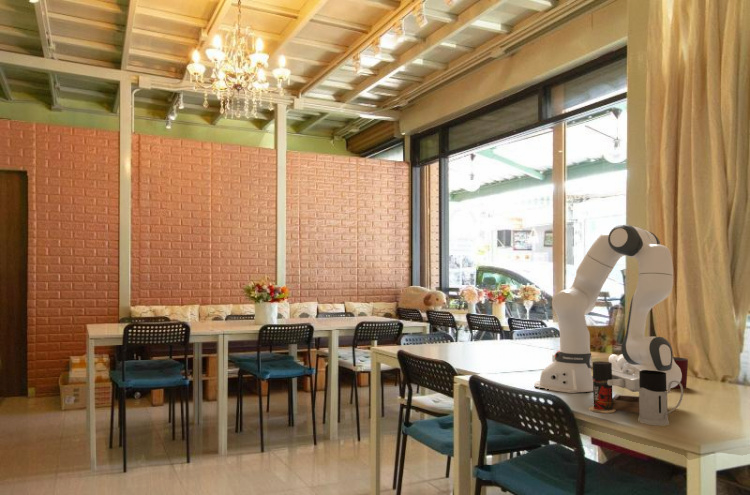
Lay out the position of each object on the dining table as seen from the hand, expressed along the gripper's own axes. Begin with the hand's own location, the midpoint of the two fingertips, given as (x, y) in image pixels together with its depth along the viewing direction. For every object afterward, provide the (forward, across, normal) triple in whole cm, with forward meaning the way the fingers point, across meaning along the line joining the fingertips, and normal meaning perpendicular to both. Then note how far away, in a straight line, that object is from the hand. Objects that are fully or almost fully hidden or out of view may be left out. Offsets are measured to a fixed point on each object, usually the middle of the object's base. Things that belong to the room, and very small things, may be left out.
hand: (600, 380), depth 196 cm
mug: (-51, -26, +10) cm, 58 cm away
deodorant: (-1, 0, +9) cm, 9 cm away
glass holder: (-8, +19, +10) cm, 23 cm away
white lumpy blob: (-49, -54, +10) cm, 73 cm away
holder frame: (-12, 0, +10) cm, 16 cm away
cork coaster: (-1, 0, +10) cm, 10 cm away
